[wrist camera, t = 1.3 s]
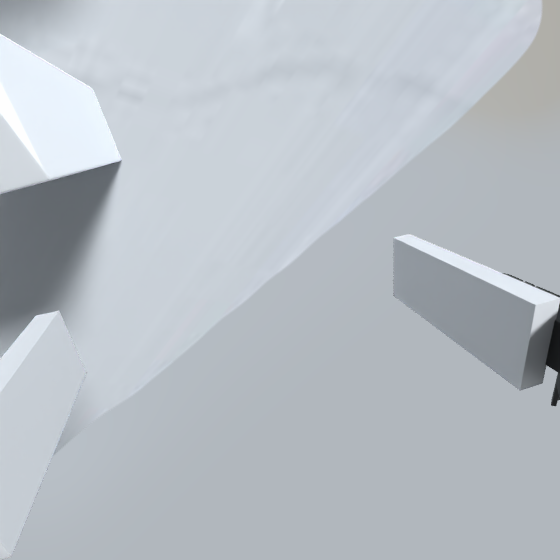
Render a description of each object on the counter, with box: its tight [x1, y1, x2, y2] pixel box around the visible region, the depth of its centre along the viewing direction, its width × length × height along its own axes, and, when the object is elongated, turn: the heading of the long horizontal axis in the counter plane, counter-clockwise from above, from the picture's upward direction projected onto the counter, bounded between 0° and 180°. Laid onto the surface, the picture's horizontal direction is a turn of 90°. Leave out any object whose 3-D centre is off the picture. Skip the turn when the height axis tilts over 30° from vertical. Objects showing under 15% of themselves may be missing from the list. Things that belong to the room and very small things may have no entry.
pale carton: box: [0, 34, 122, 194], centre depth 20 cm, size 6×6×22 cm
